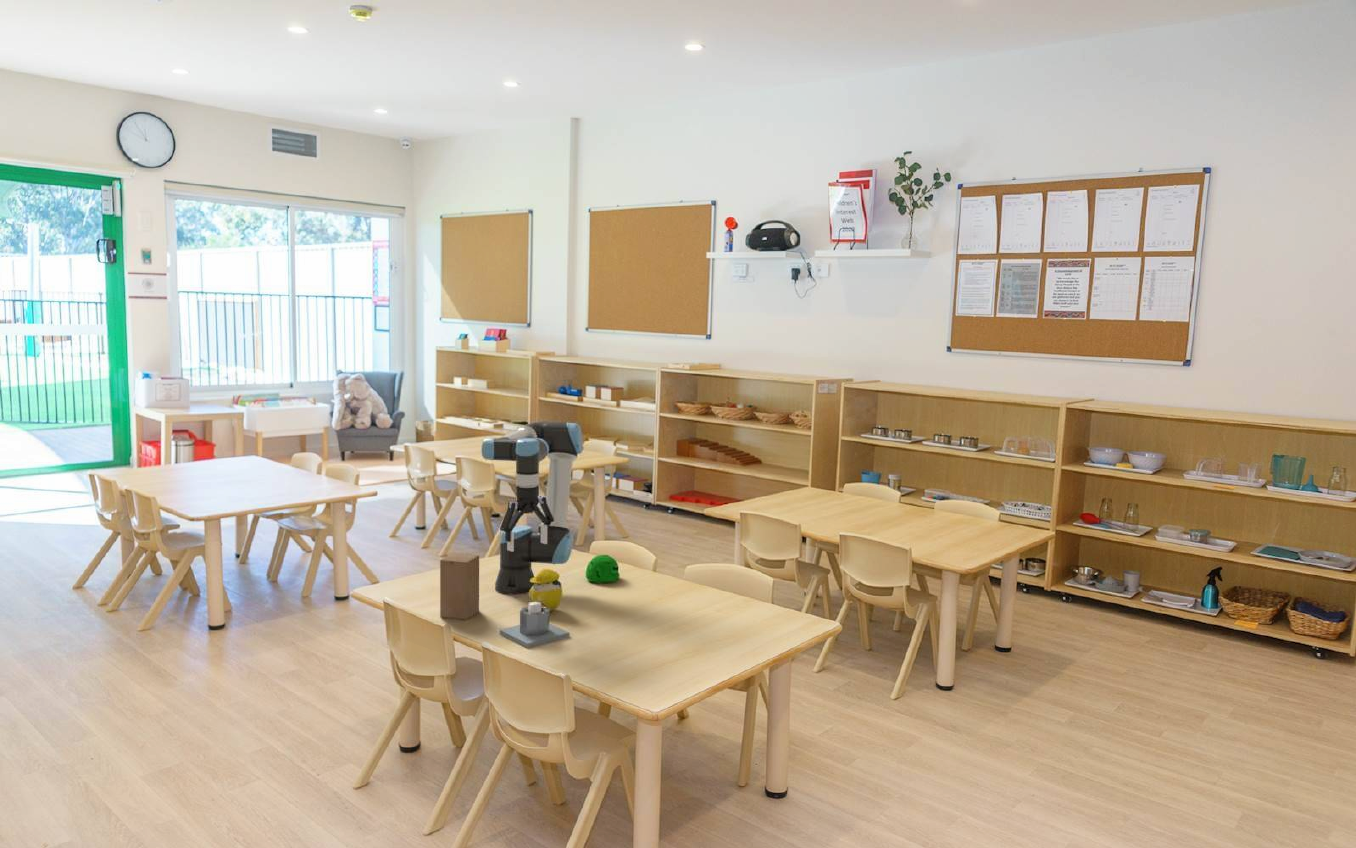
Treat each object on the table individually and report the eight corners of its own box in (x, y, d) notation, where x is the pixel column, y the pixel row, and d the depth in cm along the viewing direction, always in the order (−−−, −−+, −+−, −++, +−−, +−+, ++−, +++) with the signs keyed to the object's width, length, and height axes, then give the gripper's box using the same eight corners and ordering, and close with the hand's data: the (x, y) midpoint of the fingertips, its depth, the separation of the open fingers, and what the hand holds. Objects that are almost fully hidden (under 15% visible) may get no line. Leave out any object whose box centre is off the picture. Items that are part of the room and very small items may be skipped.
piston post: (540, 623, 305) (541, 593, 303) (569, 637, 293) (569, 605, 292) (499, 634, 294) (499, 602, 292) (527, 648, 282) (528, 615, 281)
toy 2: (618, 585, 350) (618, 560, 349) (583, 584, 350) (584, 559, 349) (620, 575, 364) (621, 551, 362) (587, 574, 364) (588, 550, 363)
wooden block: (467, 620, 306) (467, 562, 303) (439, 617, 308) (439, 559, 305) (479, 611, 316) (479, 554, 313) (452, 608, 318) (452, 552, 315)
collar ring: (538, 624, 300) (538, 603, 299) (553, 631, 293) (554, 610, 292) (515, 630, 294) (515, 609, 293) (531, 637, 287) (531, 616, 286)
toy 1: (522, 609, 319) (522, 567, 317) (545, 603, 326) (546, 562, 324) (545, 618, 310) (546, 575, 308) (569, 612, 317) (569, 570, 316)
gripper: (551, 478, 314) (550, 537, 318) (489, 488, 297) (489, 551, 300) (564, 482, 309) (563, 542, 312) (502, 492, 292) (502, 556, 295)
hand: (527, 547), depth 306 cm, fingers open, 13 cm apart
